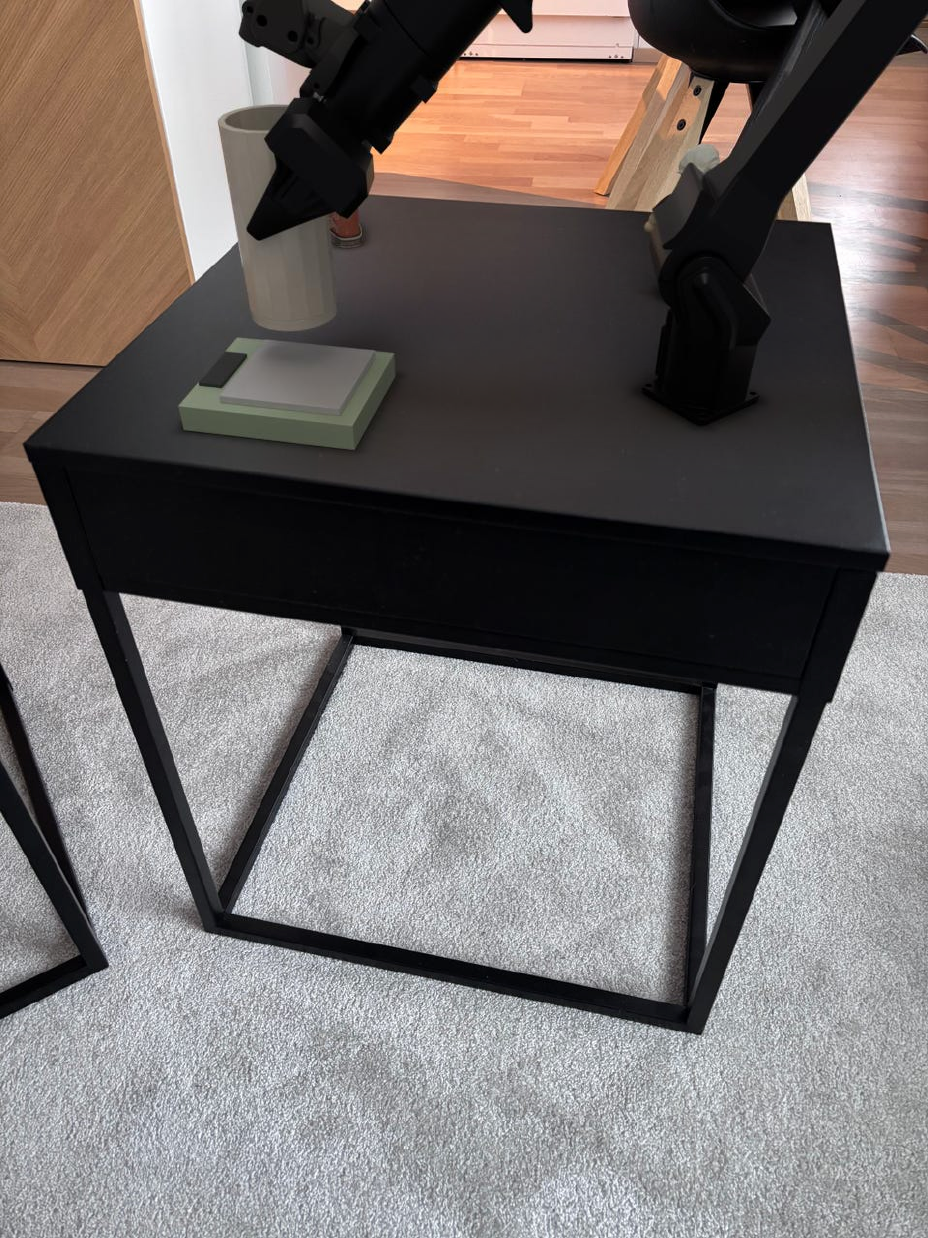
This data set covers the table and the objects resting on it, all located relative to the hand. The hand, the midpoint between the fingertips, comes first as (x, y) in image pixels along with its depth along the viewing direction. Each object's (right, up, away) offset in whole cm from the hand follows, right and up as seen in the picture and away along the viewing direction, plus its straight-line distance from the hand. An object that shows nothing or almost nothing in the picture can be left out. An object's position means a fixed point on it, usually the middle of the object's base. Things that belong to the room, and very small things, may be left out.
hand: (262, 216), depth 64 cm
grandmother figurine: (+33, +2, +21) cm, 40 cm away
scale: (+1, -11, +7) cm, 13 cm away
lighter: (+1, +12, +32) cm, 35 cm away
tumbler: (+1, -5, +4) cm, 7 cm away
